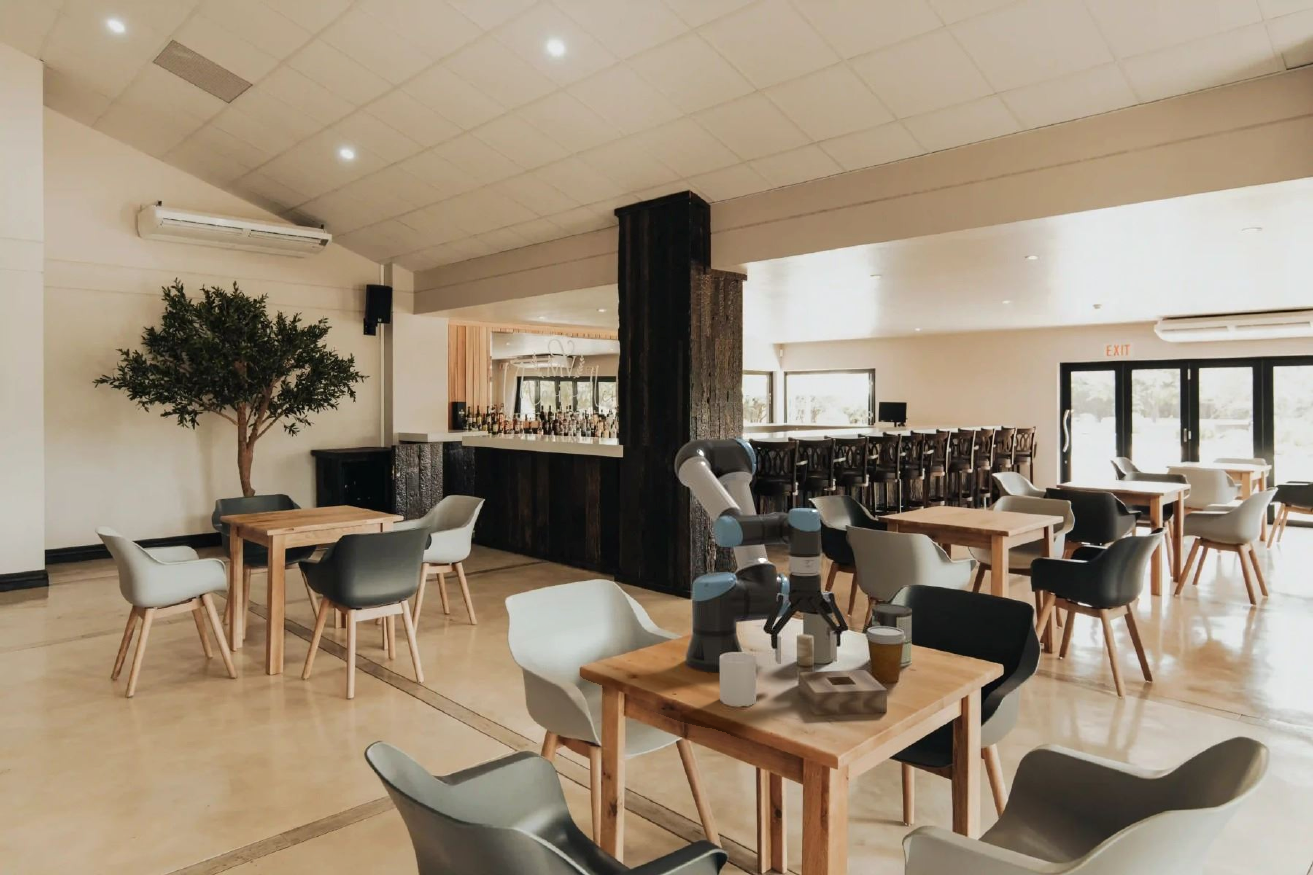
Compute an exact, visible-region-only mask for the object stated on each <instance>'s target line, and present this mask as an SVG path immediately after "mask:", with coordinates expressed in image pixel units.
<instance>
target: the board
mask: <svg viewBox="0 0 1313 875" xmlns="http://www.w3.org/2000/svg"><path fill="white" fill-rule="evenodd" d="M798 677H799V686H798V695H799V696H800V698H801V699H802V700H803V701H804V703H805V704H806V705H807V706H808V708H809V709H810V710H811V712H812V713H813V715H815V716H833V715H834V716H835V715H858V714H859V715H862V714H882V713H883V712H887V713H888V696H887V695H888V693H887V692H888V690H887V689H886V687H884V686H883V685H882V684H881V682H878V681H876V680H875V679H874V678H873V677H872V674H870V673H869V672H868V671H867V670H866V669H856V670H854V669H853V670H831V671H830V670H828V671H823V670H822V671H814V672H798V674H797V678H798ZM881 712H882V713H881ZM883 714H884V713H883Z"/></svg>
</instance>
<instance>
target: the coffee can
mask: <svg viewBox="0 0 1313 875" xmlns="http://www.w3.org/2000/svg"><path fill="white" fill-rule="evenodd" d="M912 613H913V610H912V608H911V607H909V606H906V605H903V604H893V603H882V604H881V603H880V604H874V605H873V606H871V627H877V626H886V627H894V628H898V629H901V630H903V632H904V636H905V637H906V638H905V640H904V643H903V650H902V658H901V666H900V668H902V667H906V666H909V665H911V664H912V662H913V661H912Z"/></svg>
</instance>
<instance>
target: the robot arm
mask: <svg viewBox="0 0 1313 875" xmlns="http://www.w3.org/2000/svg"><path fill="white" fill-rule="evenodd" d="M756 462H757V458H756V455H755V451H754V449H753V447H752V445H751V444H750V443H749V442H748V441H746V440H744V439H742V438H733V437H731V438H721V439H719V438H718V439H717V438H716V439H706V438H705V439H702V438H701V439H700V438H698V439H694V440H691V441H689V442H688V443H685V444H684V445H683V446H682V447H681V448H680V449H679V451H678V453H677V454H676V455H675V460H674V472H675V474H676V477H677V478H678V480H679V481H680V483H681V484H682V485H683V486H685V487H687V488H689V489H690V491H691V492H692V493H693V495H694V496H695V497H696V499H697V500H698V502H699V503H700V504H701V506H702V507H703V509H704V510H705V511H706V513H707V515H708V516H709V517H710V518H711V520H712V521H713V527H712V535H713V538H714V541H715V543H716V544H717V545H718V546H719V547H721V548H724V547H725V548H726V547H727V548H729V547H730V548H733V552H734V553H733V554H734V557H735V561H736V565H737V568H736V570H735V571H734V573H733V572H729V571H721V572H720V571H716V572H711V573H706V574H703V575H700V576H699V577H697V578H695V580H694V581H693V583H692V588H691V589H692V592H691V604H692V605H691V608H692V610H691V612H692V613H691V614H692V617H691V618H692V620H691V621H692V622H691V623H692V633H691V634H692V635H691V638H690V641H689V643H688V648H687V650H686V654H685V663H686V665H687V667H689V666H691V667H692V668H691V667H690V668H691V669H694V670H697V669H698V670H697V671H702V672H703V671H704V672H711V673H712V672H715V673H716V672H717V673H718V672H719V673H720V656H721V655H722V654H725V653H730V652H743V651H742V648H741V643H740V641H739V638H738V635H737V625H738V624H737V623H741V622H751V621H762V620H766V622H765V624H764V625H763V628H762V630H763V631H764V632H765V634H769V635H770V646H771V648H772V649H773V650H774V651H775V657H774V658H775V659H774V660H775V662H776V663H777V664H779V665H780V664H782V636H781V635H780V634H779V633H780V632H781V631H782V629H784V627H785V626H786V625H787V623H788V622H790V620H791V619H792V617H793V616H795V615H796V614H797V612H799V613H801V614H803V613H804V612H813V611H815V610H816V611H817V612H818V613H819V614H820V615H821V617H822V618H823V619H824V620H825V621H826V622H827V623H828V625H829V626H830V627H831V628H832V629H833V630H834V632H830V657H831V659H832V660H833V661H832V662H833V663H834V662H838V647H841V635H842V634H843V632H847V631H848V630H849V627H848V624H847V622H846V621H845V618H844V617H843V614H842V613H841V611H840V608H839V607H838V605H837V603H836V597H835V594H834V593H833V592H832V591H830V590H828V592H827V593H823V594H822V593H821V590H822V576H821V574H820V573H821V571H822V567H821V565H822V564H821V545H822V544H821V543H822V542H821V540H822V539H821V537H822V534H821V532H822V530H821V526H822V525H821V516H820V515H821V514H820V511H819V510H818V509H816V508H808V507H805V508H804V507H800V508H799V507H797V508H791V509H789V511H788V513H787V512H786V513H785V512H782V511H780V512H779V511H778V512H775V511H774V512H771V513H767V514H766V513H765V514H757V512H756V507H755V504H754V500H753V499H754V498H753V495H752V492H751V488H750V483H751V482H752V481H753V476H754V475H755V473H756V469H757V464H756ZM778 544H779V545H781V544H782V545H783V544H784V545H788V561H789V562H788V570H789V572H790V573H789V576H788V578H787V577H786V575H785V574H782V573H778V571H777V567H776V564H774V563H773V562H771V561H769V557H768V555H767V550H766V546H765V545H767V546H768V545H778ZM823 598H824V599H825V601H827V602H828V603H829V605H830V607H831V609H832V611H833V613H834V618H835V619H836V621H837V623H838V625H837V623H835V622H833V621H832V619H831V618H830V617H829V616H828V615H827V614H826V612H825V611H824V610H823V609H822V608H821V606H820V605H819V604H820V603H821V601H822V600H823ZM777 618H779V619H778V620H777ZM776 620H777V622H776Z"/></svg>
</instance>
